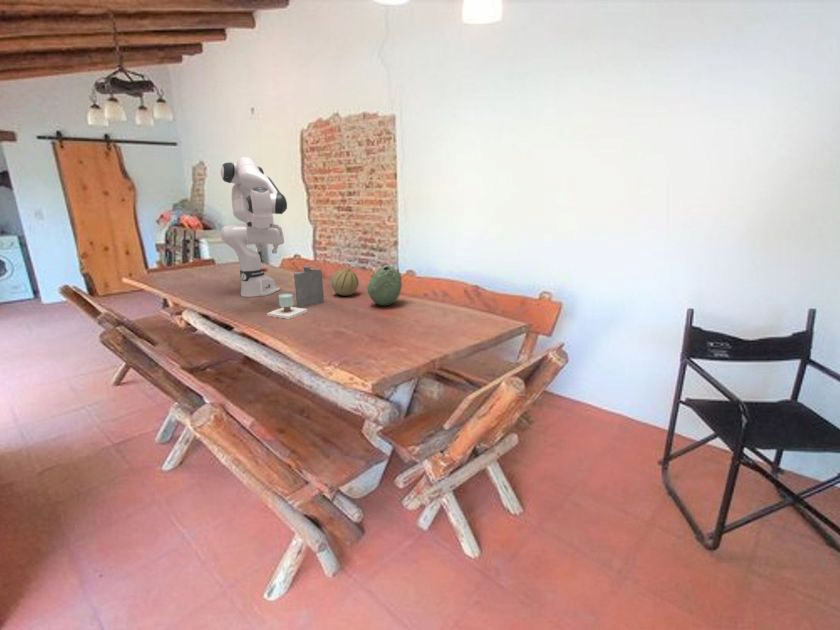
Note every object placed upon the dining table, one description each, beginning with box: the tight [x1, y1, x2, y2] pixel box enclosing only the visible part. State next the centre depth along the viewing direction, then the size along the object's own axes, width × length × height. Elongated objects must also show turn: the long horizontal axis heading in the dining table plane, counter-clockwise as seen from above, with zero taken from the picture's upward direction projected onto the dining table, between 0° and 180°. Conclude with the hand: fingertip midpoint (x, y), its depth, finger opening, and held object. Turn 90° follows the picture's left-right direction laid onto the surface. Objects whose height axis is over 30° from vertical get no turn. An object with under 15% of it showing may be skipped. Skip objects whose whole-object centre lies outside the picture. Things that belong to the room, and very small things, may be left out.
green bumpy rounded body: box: [366, 264, 403, 307], centre depth 220 cm, size 16×19×20 cm
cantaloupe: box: [330, 268, 359, 297], centre depth 240 cm, size 15×15×15 cm
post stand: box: [266, 306, 308, 320], centre depth 208 cm, size 13×13×8 cm
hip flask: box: [293, 265, 325, 309], centre depth 222 cm, size 16×4×20 cm, turn 140°
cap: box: [278, 293, 295, 308], centre depth 207 cm, size 6×6×5 cm
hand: (267, 252), depth 211 cm, fingers open, 8 cm apart
